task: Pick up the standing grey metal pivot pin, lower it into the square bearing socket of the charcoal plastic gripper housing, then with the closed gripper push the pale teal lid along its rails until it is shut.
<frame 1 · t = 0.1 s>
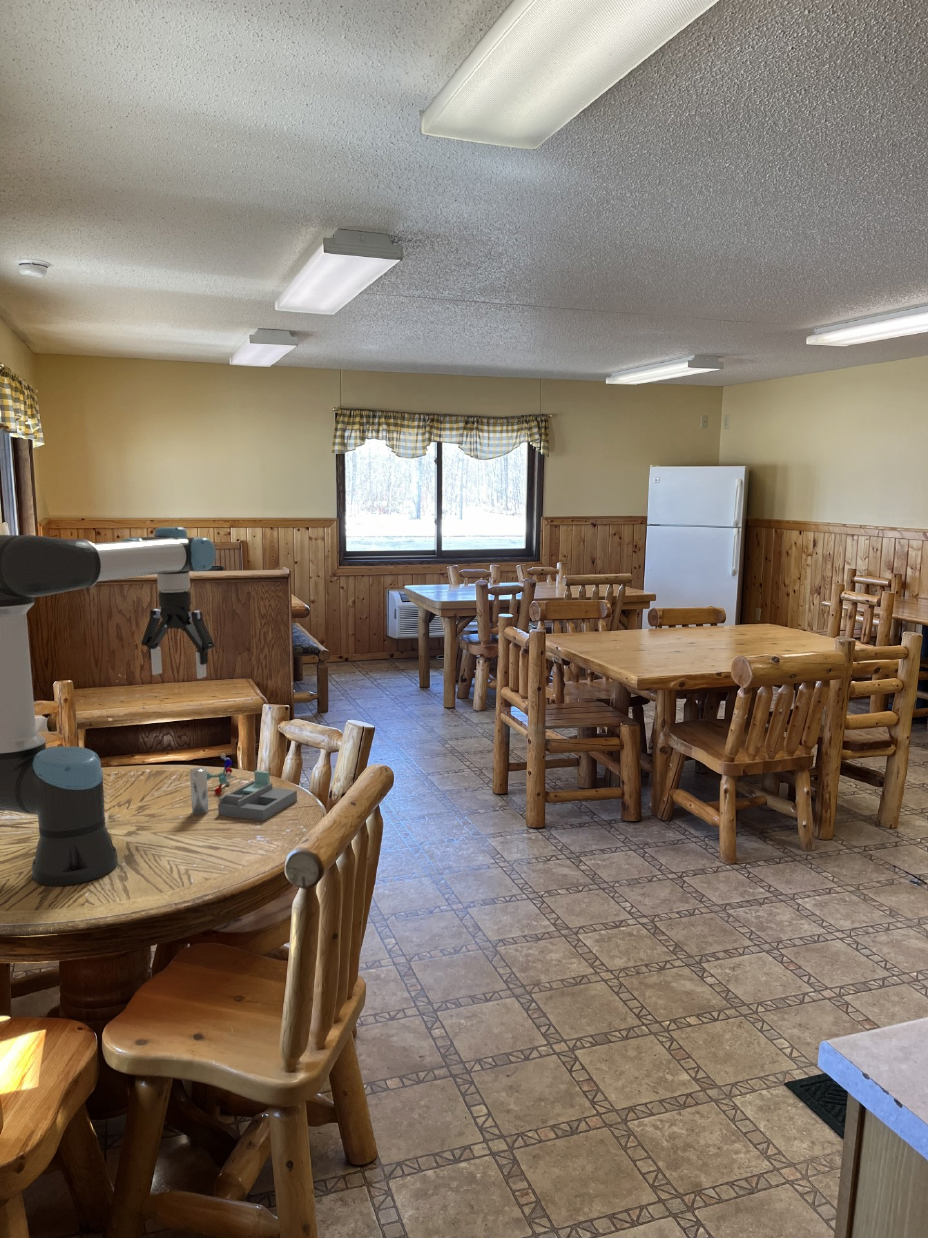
hand: (179, 675, 214), 28 cm above the table, fingers open, 13 cm apart
lid: (256, 782, 205), point 5 cm above the table, slide at 5.0 cm
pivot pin: (200, 812, 198), on the table
housing: (258, 807, 200), on the table
molecular model: (221, 788, 215), on the table
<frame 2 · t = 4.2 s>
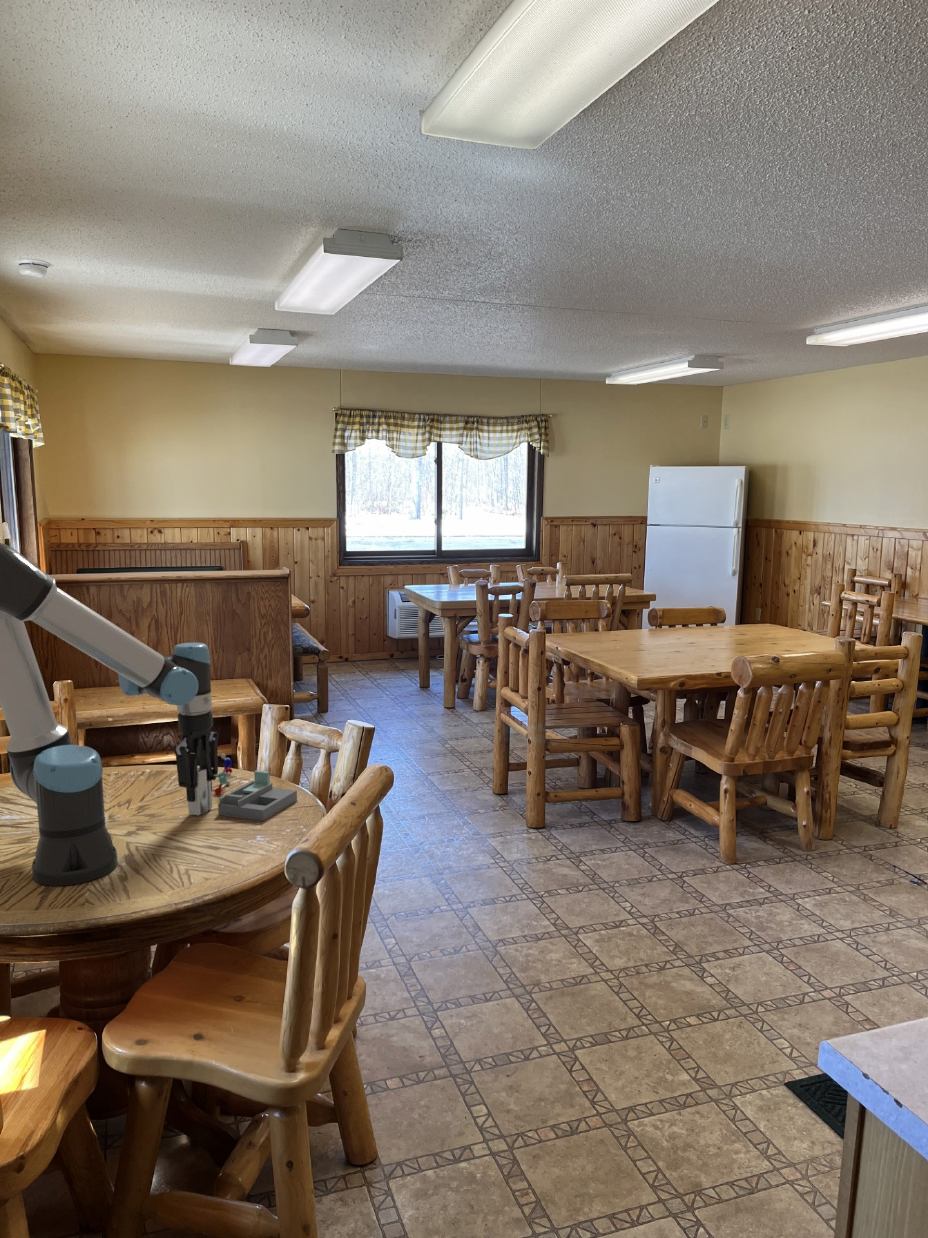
hand: (200, 810, 198), 0 cm above the table, fingers closed on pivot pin, 4 cm apart
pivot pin: (200, 811, 198), on the table, touching gripper
everything else where it was.
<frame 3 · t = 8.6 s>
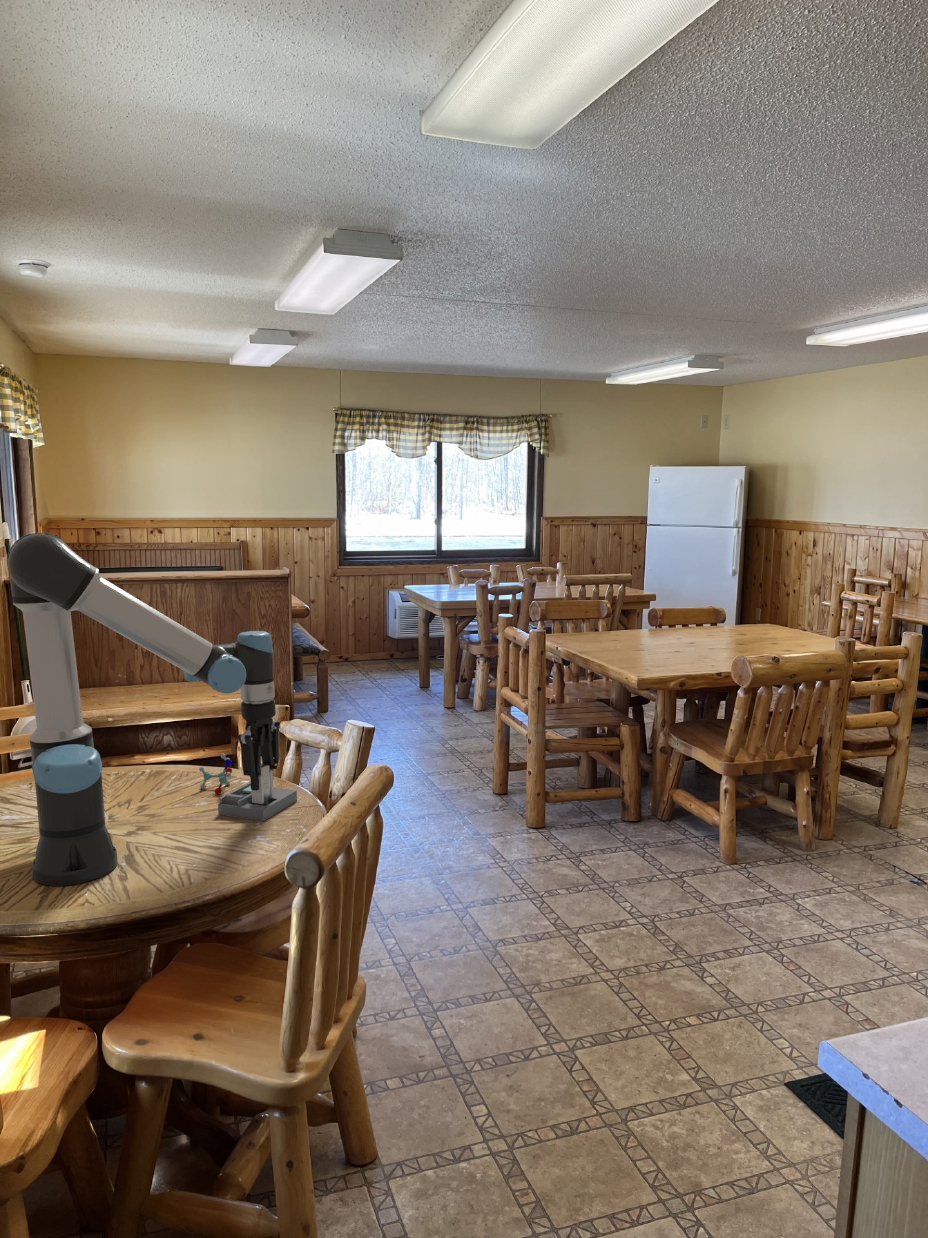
hand: (263, 799, 198), 3 cm above the table, fingers closed on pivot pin, 3 cm apart
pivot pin: (263, 808, 198), point 1 cm above the table, touching gripper
everything else where it was.
when the fingers open (3 cm above the table, at t = 10.1 s): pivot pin stays where it is, resting on housing.
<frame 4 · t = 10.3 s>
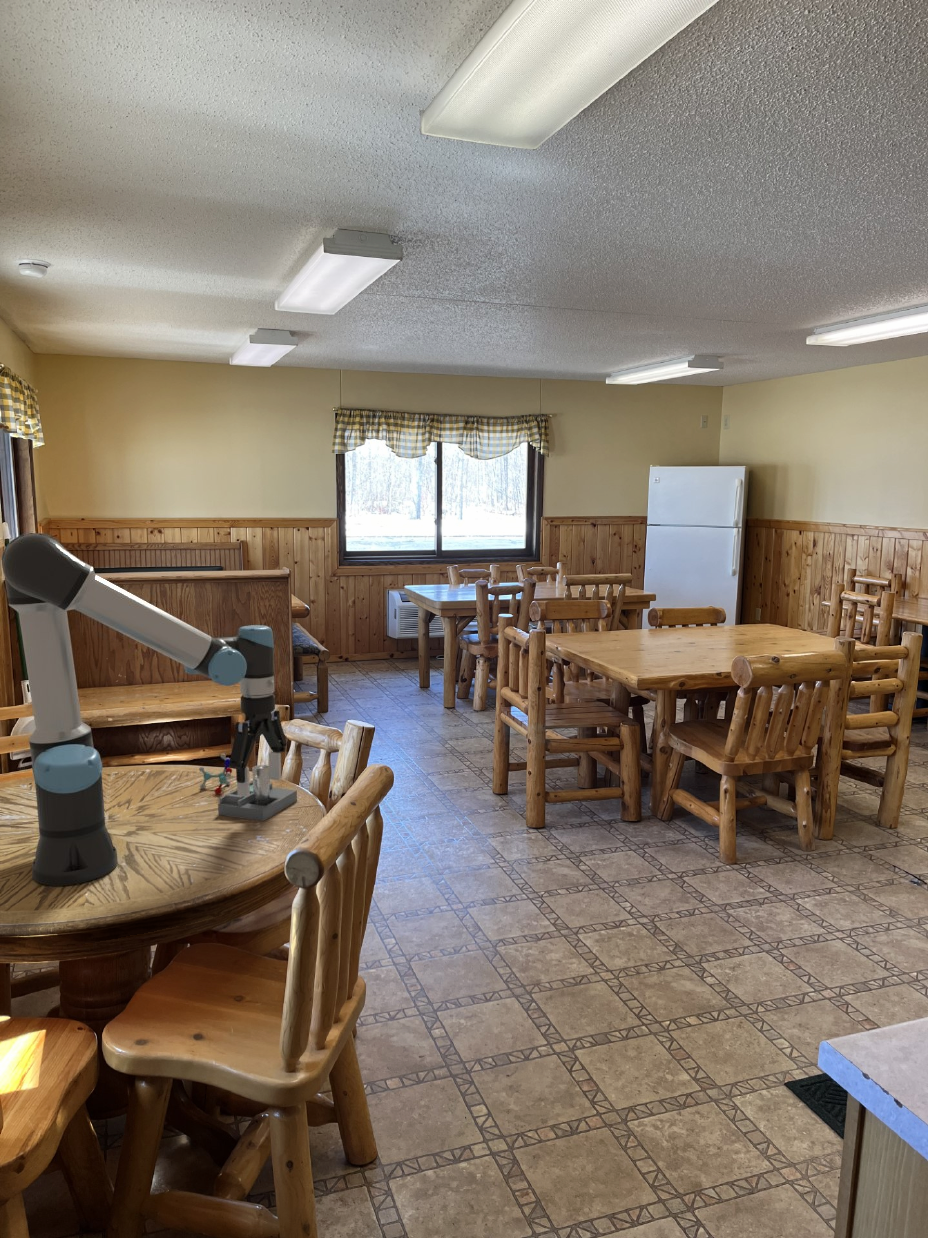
hand: (260, 787, 197), 6 cm above the table, fingers open, 12 cm apart
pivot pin: (262, 809, 198), point 1 cm above the table, touching housing
everything else where it was.
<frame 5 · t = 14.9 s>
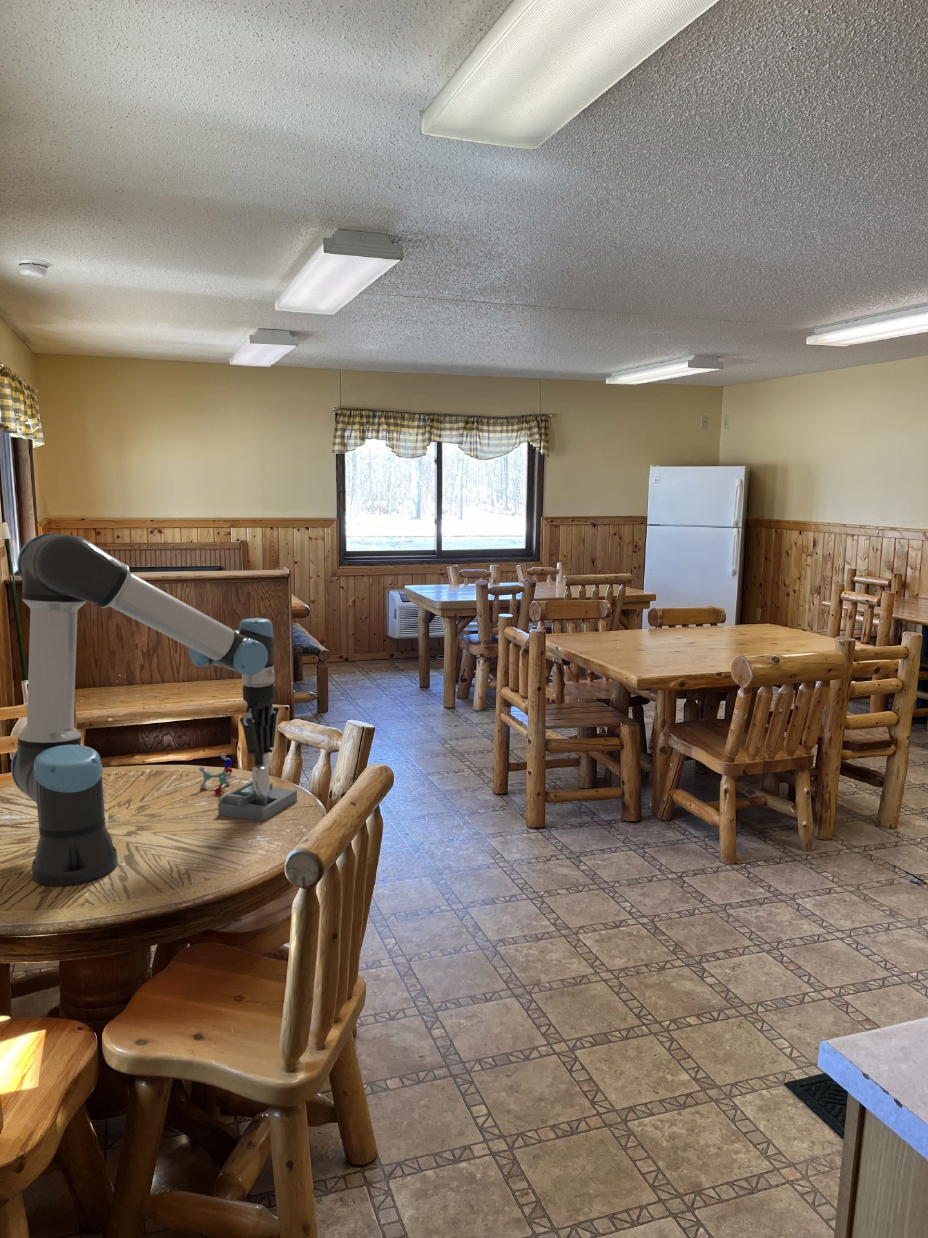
hand: (262, 779, 207), 4 cm above the table, fingers closed
lid: (253, 783, 204), point 5 cm above the table, slide at 4.1 cm, touching gripper
everything else where it was.
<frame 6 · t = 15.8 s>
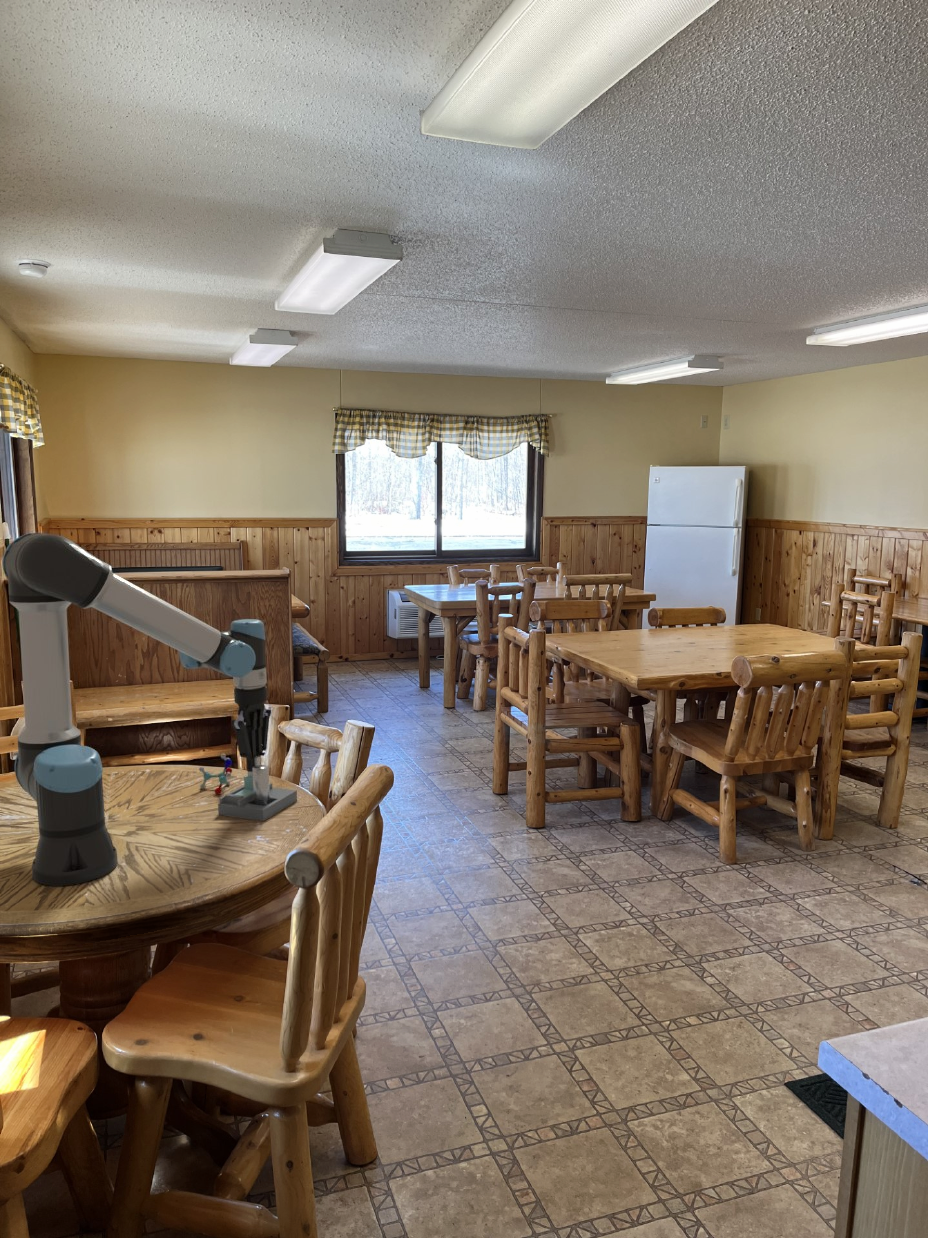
hand: (254, 783, 204), 4 cm above the table, fingers closed
lid: (245, 787, 201), point 5 cm above the table, slide at 0.8 cm, touching gripper
everything else where it was.
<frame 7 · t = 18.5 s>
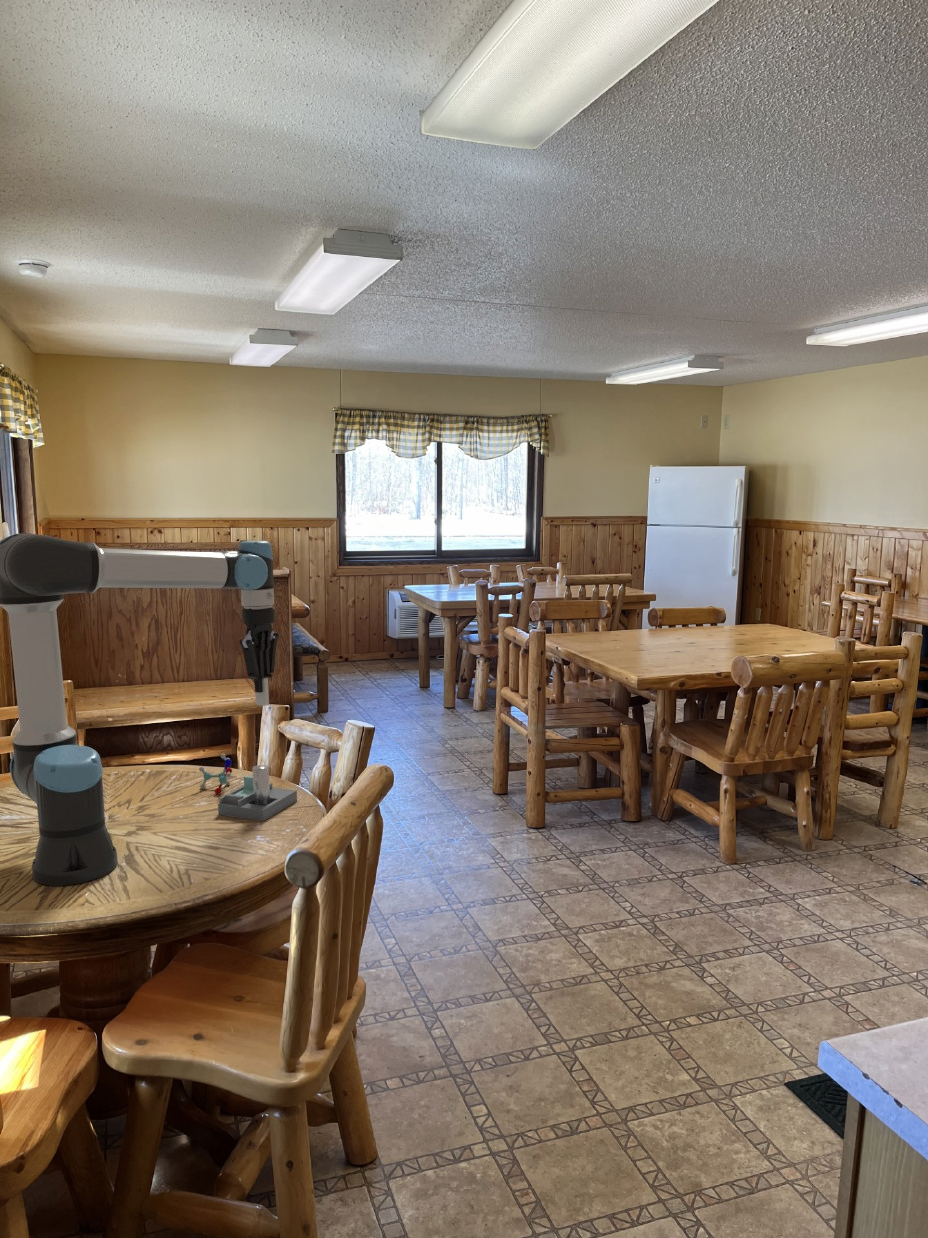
hand: (262, 704, 206), 22 cm above the table, fingers closed
lid: (245, 787, 201), point 5 cm above the table, slide at 0.7 cm
everything else where it was.
at the end: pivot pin 0.1 cm from the target spot on the housing, point 0.5 cm above the housing's base; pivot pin tilted 0°; lid slide at 0.7 cm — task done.
